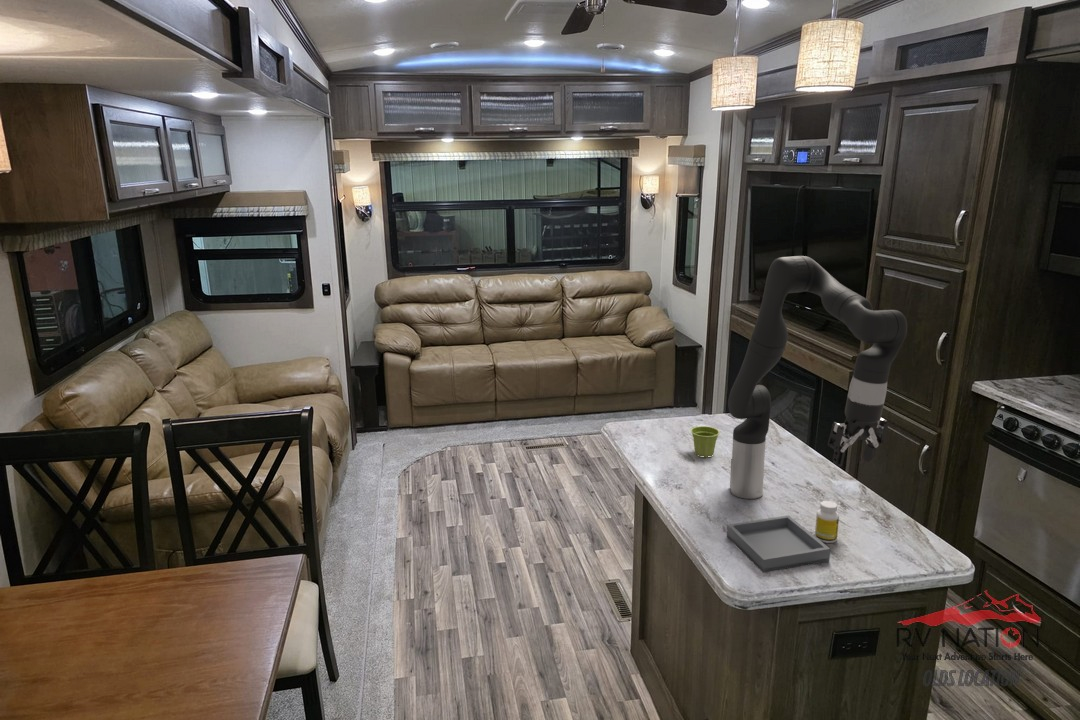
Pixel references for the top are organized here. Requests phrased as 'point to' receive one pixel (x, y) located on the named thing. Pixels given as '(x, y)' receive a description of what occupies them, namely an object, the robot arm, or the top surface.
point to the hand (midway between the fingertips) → (852, 462)
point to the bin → (777, 543)
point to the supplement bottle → (827, 522)
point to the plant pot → (704, 440)
